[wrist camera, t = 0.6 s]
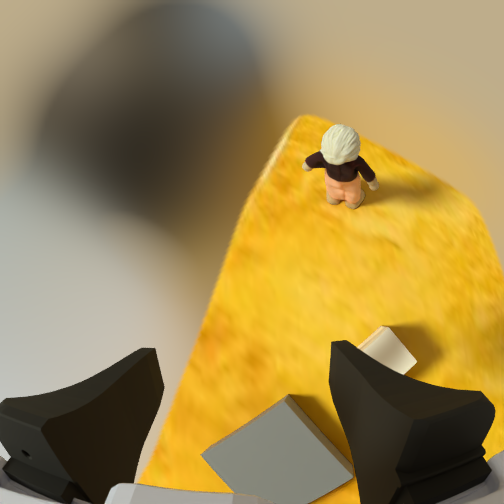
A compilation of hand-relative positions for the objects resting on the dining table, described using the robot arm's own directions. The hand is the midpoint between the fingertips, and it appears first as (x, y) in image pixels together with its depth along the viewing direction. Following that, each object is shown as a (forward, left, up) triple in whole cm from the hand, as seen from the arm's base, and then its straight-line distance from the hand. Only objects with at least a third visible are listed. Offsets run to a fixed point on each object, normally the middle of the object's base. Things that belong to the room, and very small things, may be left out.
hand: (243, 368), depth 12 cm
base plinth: (-10, +11, -21) cm, 26 cm away
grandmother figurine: (+9, -14, -21) cm, 27 cm away
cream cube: (-7, -5, -21) cm, 23 cm away
